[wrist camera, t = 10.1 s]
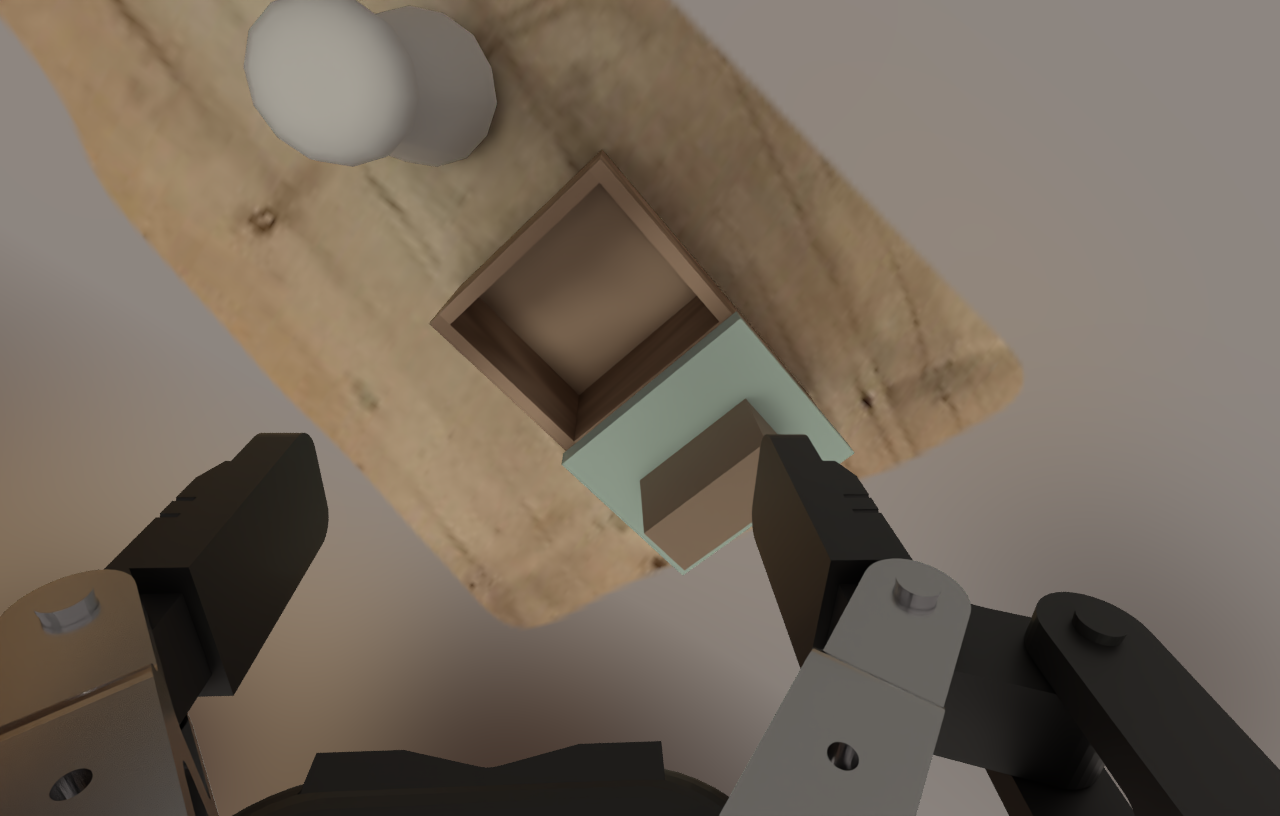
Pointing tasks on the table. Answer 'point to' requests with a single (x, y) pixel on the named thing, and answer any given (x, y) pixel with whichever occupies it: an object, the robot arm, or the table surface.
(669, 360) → the box
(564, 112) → the table surface
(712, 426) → the lid
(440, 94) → the salt shaker
